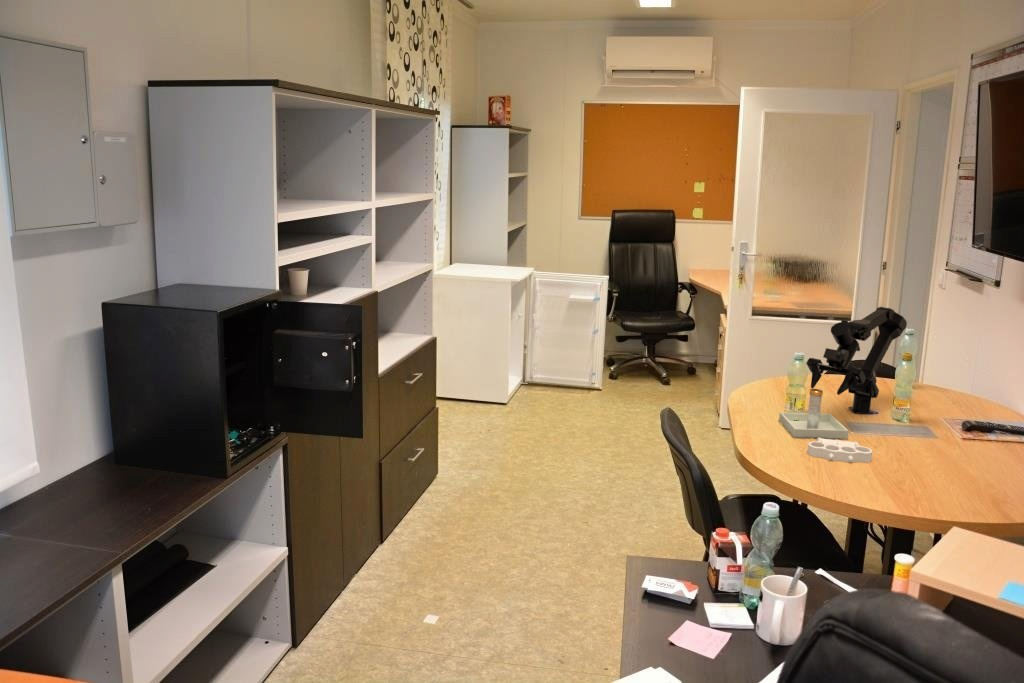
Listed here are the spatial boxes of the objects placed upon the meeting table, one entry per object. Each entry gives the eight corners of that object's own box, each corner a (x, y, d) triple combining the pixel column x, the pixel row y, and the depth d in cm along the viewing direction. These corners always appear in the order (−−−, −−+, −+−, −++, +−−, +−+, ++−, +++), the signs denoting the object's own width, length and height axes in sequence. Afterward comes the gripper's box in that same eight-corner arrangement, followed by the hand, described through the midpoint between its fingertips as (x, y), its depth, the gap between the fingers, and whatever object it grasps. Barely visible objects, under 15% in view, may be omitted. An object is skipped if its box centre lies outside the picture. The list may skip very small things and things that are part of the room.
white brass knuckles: (867, 450, 250) (873, 468, 236) (805, 444, 255) (808, 460, 241) (868, 440, 249) (874, 457, 236) (806, 434, 254) (809, 450, 241)
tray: (779, 420, 276) (779, 412, 275) (829, 422, 275) (830, 413, 275) (793, 438, 259) (794, 429, 259) (847, 439, 259) (848, 430, 258)
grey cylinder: (807, 425, 270) (811, 388, 267) (820, 428, 268) (824, 390, 265) (804, 428, 267) (808, 390, 264) (817, 431, 264) (821, 393, 262)
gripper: (811, 334, 274) (791, 371, 270) (865, 344, 261) (844, 383, 256) (821, 353, 281) (801, 389, 277) (874, 364, 267) (854, 402, 263)
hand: (824, 390), depth 268 cm, fingers open, 9 cm apart
